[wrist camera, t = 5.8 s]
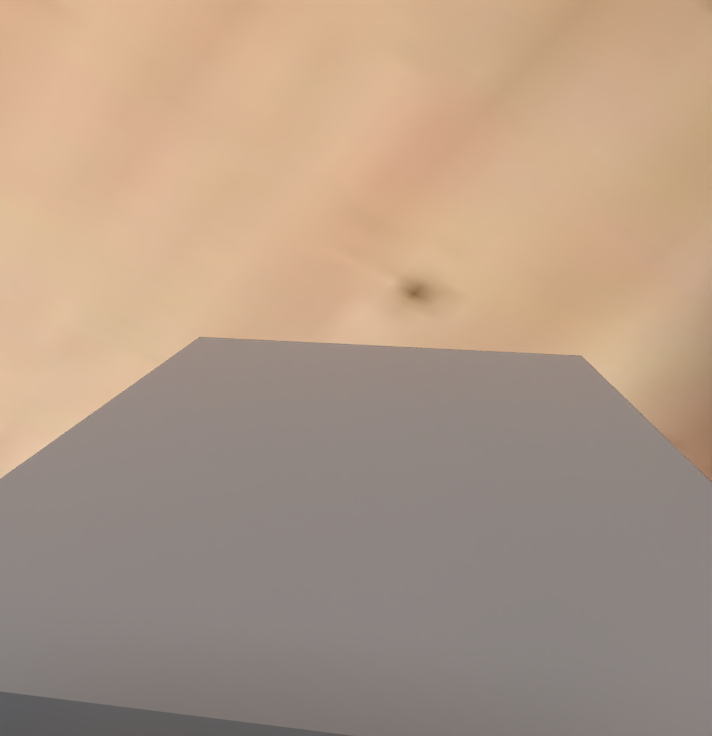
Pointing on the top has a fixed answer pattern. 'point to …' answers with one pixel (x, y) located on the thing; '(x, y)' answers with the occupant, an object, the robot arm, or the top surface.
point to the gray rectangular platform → (357, 553)
